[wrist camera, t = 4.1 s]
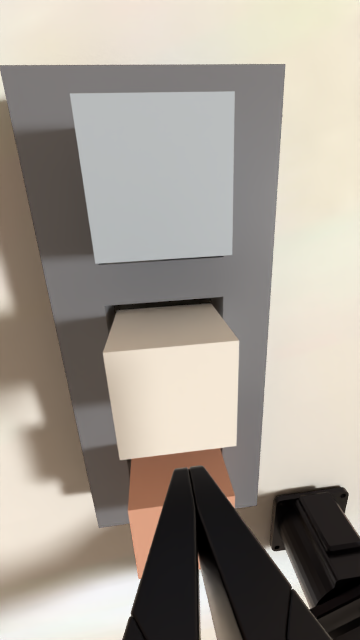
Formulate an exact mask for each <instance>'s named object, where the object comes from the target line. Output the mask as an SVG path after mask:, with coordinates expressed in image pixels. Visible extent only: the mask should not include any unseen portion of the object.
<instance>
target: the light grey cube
mask: <svg viewBox="0 0 360 640" xmlns="http://www.w3.org/2000/svg"><path fill="white" fill-rule="evenodd" d="M70 98H71V105H72V112H73V118H74V125H75V132H76V138H77V145H78V152H79V158H80V165H81V172H82V178H83V185H84V191H85V198H86V205H87V211H88V218H89V225H90V231H91V238H92V245H93V251H94V258H95V264H99V263H115V262H131V261H146V260H162V259H178V258H194V257H209V256H225V255H232V237H233V173H234V109H235V91H225V92H147V93H70Z"/></svg>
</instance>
